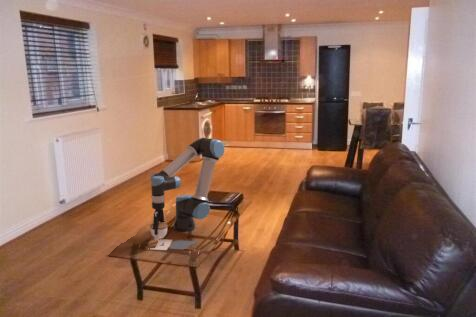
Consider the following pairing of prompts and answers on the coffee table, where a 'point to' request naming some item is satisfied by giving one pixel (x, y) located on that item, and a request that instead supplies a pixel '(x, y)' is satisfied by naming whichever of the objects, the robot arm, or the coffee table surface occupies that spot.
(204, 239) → the coffee table surface
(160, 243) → the card
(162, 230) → the lidded jar
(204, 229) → the coffee table surface
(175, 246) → the mat
